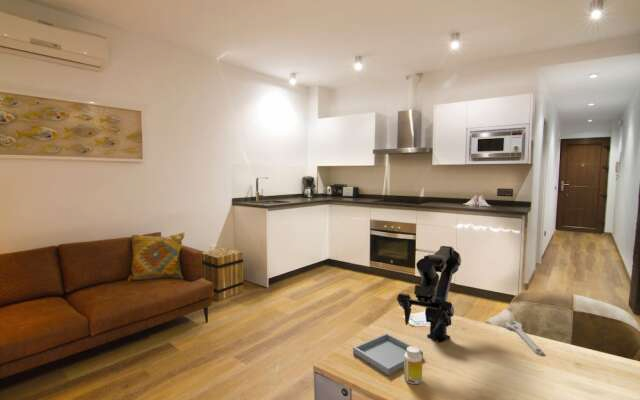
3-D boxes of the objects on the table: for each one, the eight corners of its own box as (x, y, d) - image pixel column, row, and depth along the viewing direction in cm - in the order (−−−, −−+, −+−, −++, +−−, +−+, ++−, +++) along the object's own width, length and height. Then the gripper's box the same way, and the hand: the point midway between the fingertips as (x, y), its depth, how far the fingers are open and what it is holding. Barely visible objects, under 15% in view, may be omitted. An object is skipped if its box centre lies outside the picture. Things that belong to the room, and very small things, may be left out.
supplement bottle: (426, 381, 109) (426, 351, 108) (412, 387, 107) (412, 355, 106) (414, 372, 114) (413, 343, 113) (400, 377, 112) (400, 347, 111)
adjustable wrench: (544, 356, 123) (545, 352, 122) (525, 355, 124) (525, 350, 124) (518, 324, 147) (518, 320, 147) (502, 324, 148) (502, 320, 148)
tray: (386, 339, 137) (386, 333, 137) (422, 357, 123) (422, 351, 123) (353, 353, 127) (353, 347, 127) (388, 376, 113) (388, 368, 113)
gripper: (398, 271, 125) (386, 311, 116) (452, 279, 115) (444, 323, 106) (405, 286, 132) (395, 325, 123) (457, 295, 122) (449, 337, 113)
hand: (419, 327), depth 116 cm, fingers open, 9 cm apart
